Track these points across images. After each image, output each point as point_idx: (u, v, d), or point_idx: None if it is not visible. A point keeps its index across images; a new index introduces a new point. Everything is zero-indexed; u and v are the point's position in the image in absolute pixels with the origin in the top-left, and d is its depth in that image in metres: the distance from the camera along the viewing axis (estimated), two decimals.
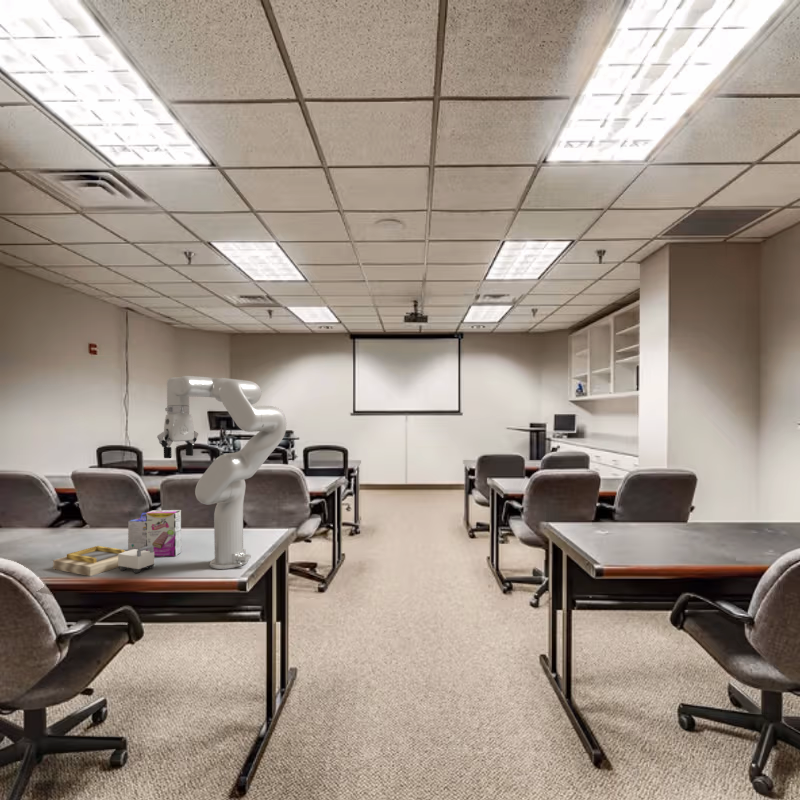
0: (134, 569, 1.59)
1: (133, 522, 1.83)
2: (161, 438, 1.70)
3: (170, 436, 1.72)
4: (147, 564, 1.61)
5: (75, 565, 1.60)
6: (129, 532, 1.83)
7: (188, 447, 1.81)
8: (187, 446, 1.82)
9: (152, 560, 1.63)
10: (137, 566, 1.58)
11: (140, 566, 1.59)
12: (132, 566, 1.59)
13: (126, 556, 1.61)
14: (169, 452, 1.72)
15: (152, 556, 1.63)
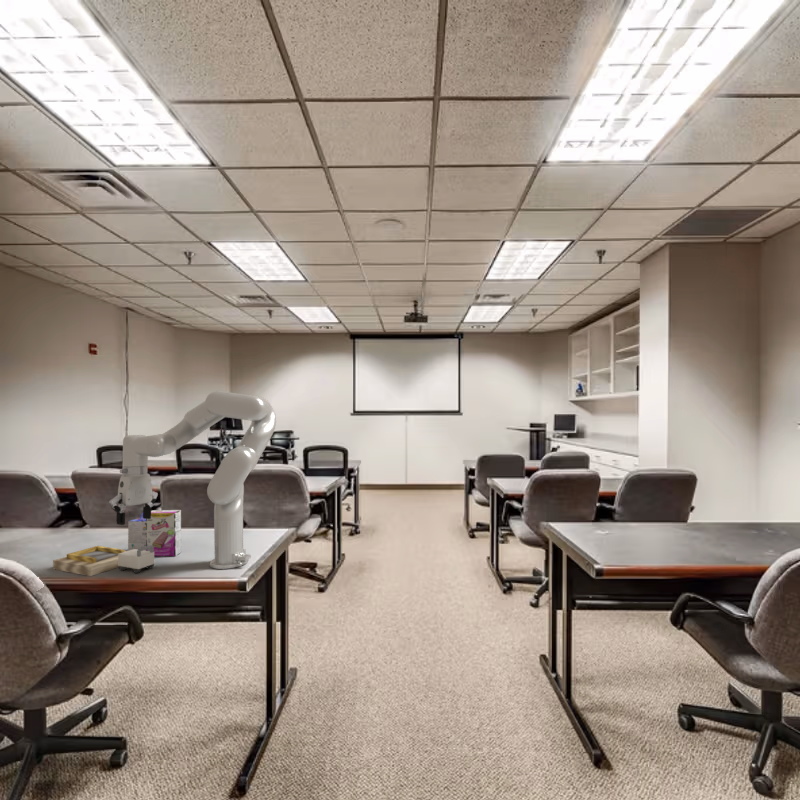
0: (134, 569, 1.59)
1: (133, 522, 1.83)
2: (113, 504, 1.56)
3: (124, 501, 1.58)
4: (147, 564, 1.61)
5: (75, 565, 1.60)
6: (129, 532, 1.83)
7: (146, 509, 1.67)
8: (145, 508, 1.68)
9: (152, 560, 1.63)
10: (137, 566, 1.58)
11: (140, 566, 1.59)
12: (132, 566, 1.59)
13: (126, 556, 1.61)
14: (122, 518, 1.58)
15: (152, 556, 1.63)
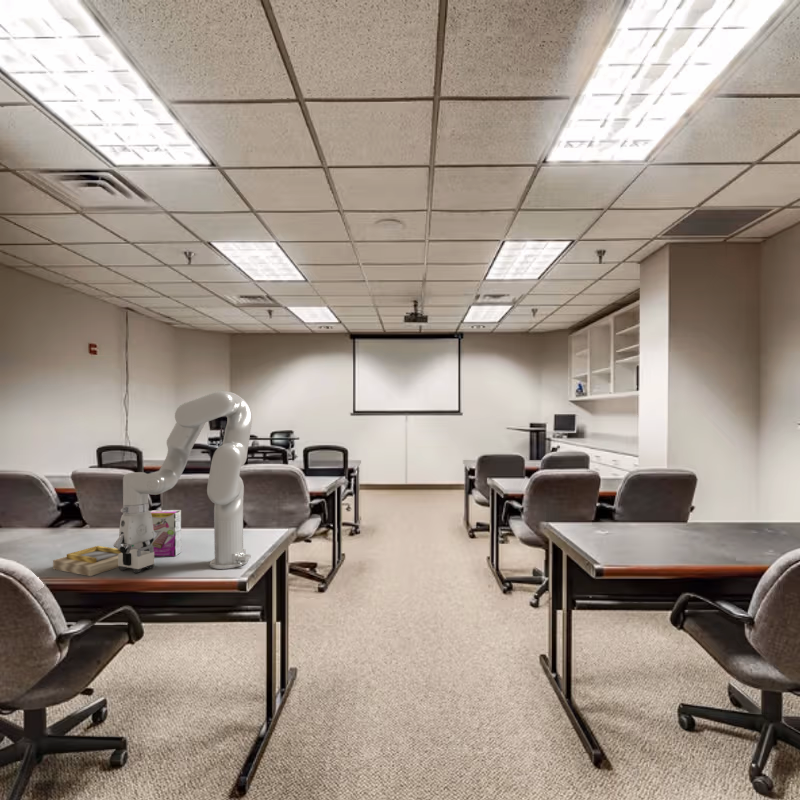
0: (134, 569, 1.59)
1: None
2: (118, 546, 1.57)
3: (125, 540, 1.58)
4: (147, 564, 1.61)
5: (75, 565, 1.60)
6: None
7: None
8: None
9: (152, 560, 1.63)
10: (137, 566, 1.58)
11: (140, 566, 1.59)
12: (132, 566, 1.59)
13: None
14: (128, 559, 1.59)
15: (152, 556, 1.63)
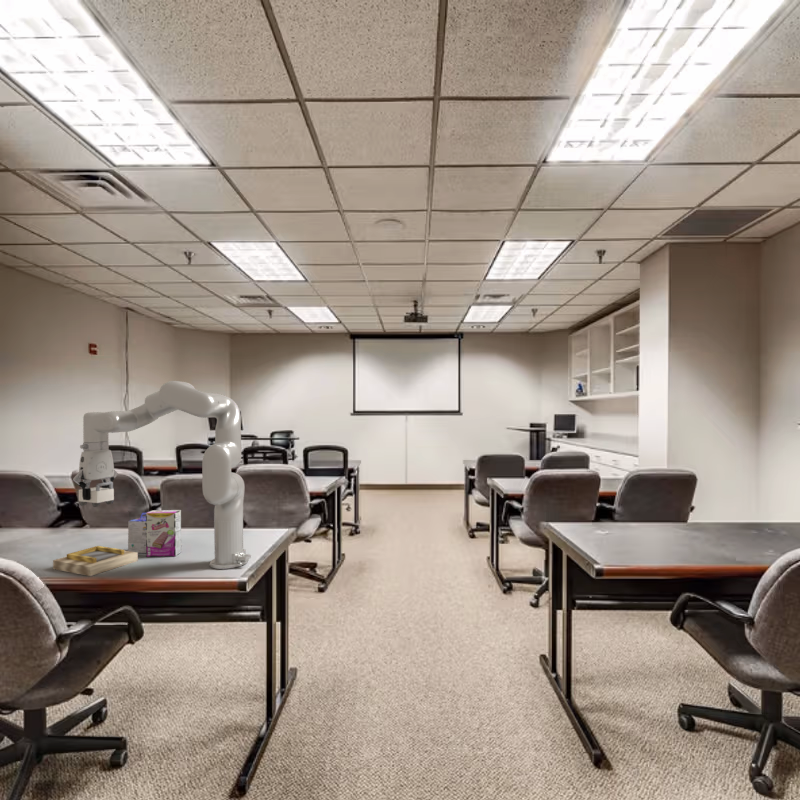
0: (93, 503, 1.65)
1: (133, 522, 1.83)
2: (78, 480, 1.63)
3: (85, 475, 1.64)
4: (106, 499, 1.67)
5: (75, 565, 1.60)
6: (129, 532, 1.83)
7: (104, 487, 1.72)
8: (103, 486, 1.72)
9: (111, 496, 1.69)
10: (96, 500, 1.64)
11: (99, 500, 1.65)
12: (91, 500, 1.65)
13: None
14: (88, 494, 1.65)
15: (111, 492, 1.69)
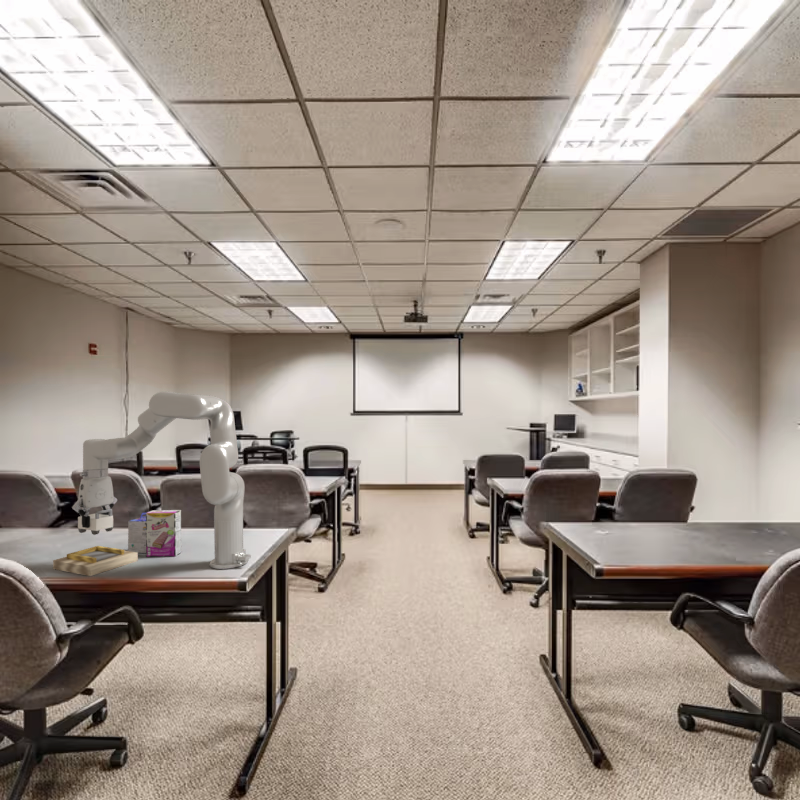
0: (92, 531, 1.65)
1: (133, 522, 1.83)
2: (77, 509, 1.63)
3: (84, 503, 1.64)
4: (105, 527, 1.67)
5: (75, 565, 1.60)
6: (129, 532, 1.83)
7: (103, 514, 1.71)
8: (102, 513, 1.72)
9: (111, 523, 1.69)
10: (95, 528, 1.64)
11: (98, 528, 1.65)
12: (91, 528, 1.65)
13: None
14: (87, 521, 1.65)
15: (111, 519, 1.69)
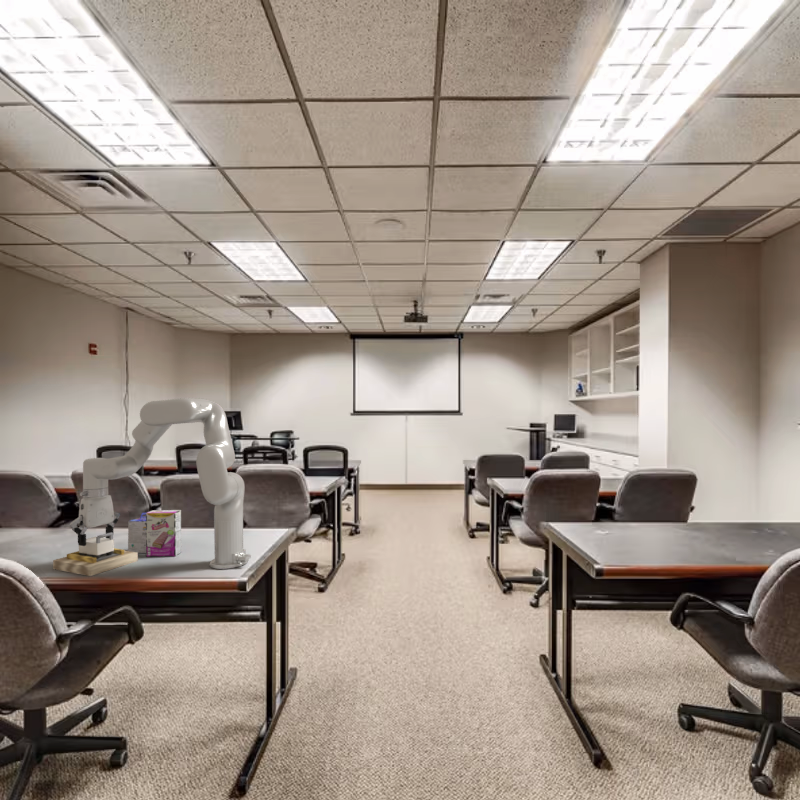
0: (93, 555, 1.65)
1: (133, 522, 1.83)
2: (74, 526, 1.61)
3: (84, 523, 1.63)
4: (106, 551, 1.67)
5: (75, 565, 1.60)
6: (129, 532, 1.83)
7: (108, 529, 1.73)
8: (107, 528, 1.73)
9: (112, 547, 1.69)
10: (96, 552, 1.64)
11: (99, 552, 1.64)
12: (91, 552, 1.65)
13: (86, 543, 1.66)
14: (83, 539, 1.64)
15: (112, 543, 1.69)
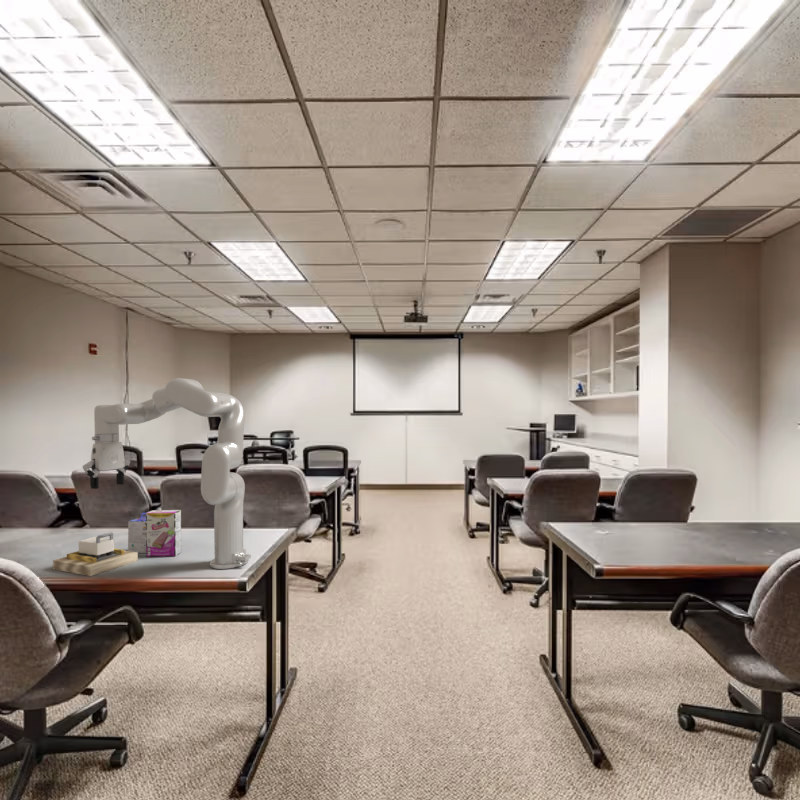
0: (93, 555, 1.65)
1: (133, 522, 1.83)
2: (87, 468, 1.65)
3: (97, 466, 1.67)
4: (106, 551, 1.67)
5: (75, 565, 1.60)
6: (129, 532, 1.83)
7: (119, 476, 1.77)
8: (118, 474, 1.77)
9: (112, 547, 1.69)
10: (96, 552, 1.64)
11: (99, 552, 1.64)
12: (91, 552, 1.65)
13: (86, 543, 1.66)
14: (96, 482, 1.67)
15: (112, 543, 1.69)
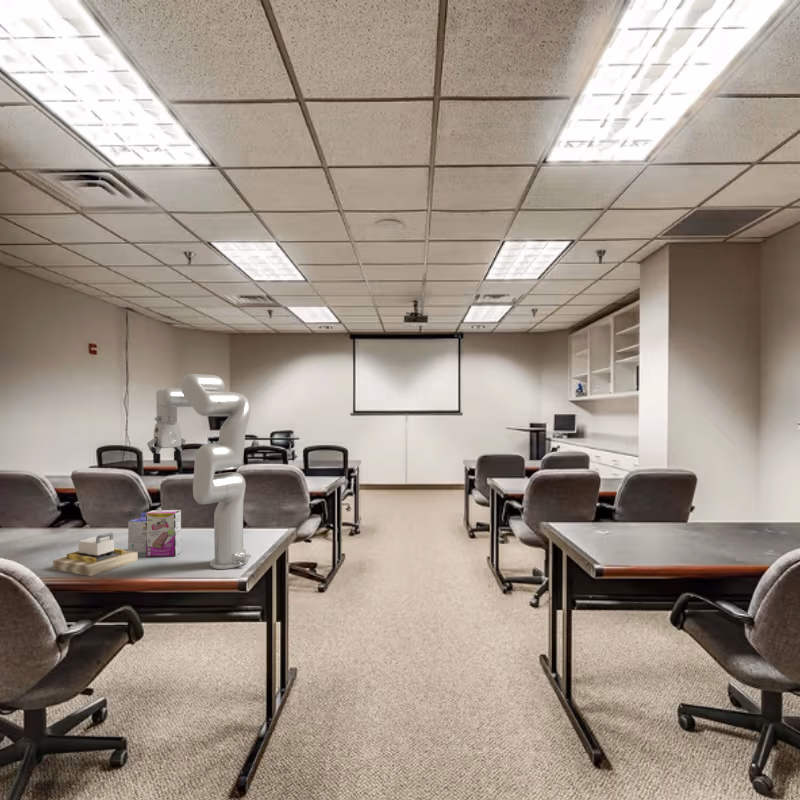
0: (93, 555, 1.65)
1: (133, 522, 1.83)
2: (151, 445, 1.87)
3: (159, 443, 1.89)
4: (106, 551, 1.67)
5: (75, 565, 1.60)
6: (129, 532, 1.83)
7: (176, 453, 1.98)
8: (175, 452, 1.98)
9: (112, 547, 1.69)
10: (96, 552, 1.64)
11: (99, 552, 1.64)
12: (91, 552, 1.65)
13: (86, 543, 1.66)
14: (158, 458, 1.89)
15: (112, 543, 1.69)
